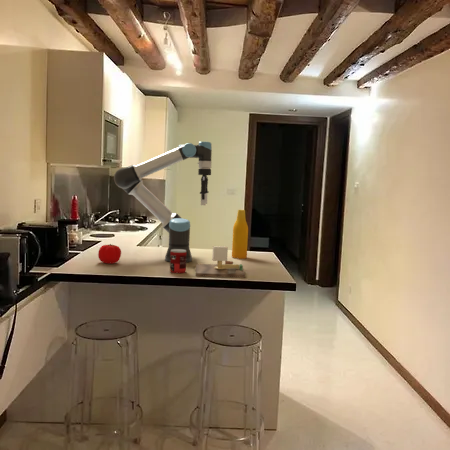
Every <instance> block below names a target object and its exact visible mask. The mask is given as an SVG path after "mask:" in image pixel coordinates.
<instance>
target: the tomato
mask: <svg viewBox="0 0 450 450" xmlns="http://www.w3.org/2000/svg"><path fill="white" fill-rule="evenodd" d="M97 256H98V260H99V261H100V262H101V263H103V264H111V265H112V264H116V263H118V262H119V260H120V258H121V256H122V250H121V248H120V247H119V246H117V245H114V244H111V243H110V244H103V245H101V247H100V248H99V249H98V253H97Z"/></svg>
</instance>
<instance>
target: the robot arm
mask: <svg viewBox="0 0 450 450" xmlns="http://www.w3.org/2000/svg"><path fill="white" fill-rule="evenodd" d="M212 152H213V151H212V142H210V141H198V144H193V143H192V142H187V143H185V144H178V146H177V147H176V148H173V149H171V150H169V151H166V152H165V153H162V154H160V155H158V156H155V157H153V158H150V159H148V160H145V161H144V162H141V163H138V164H136V165H135V164H131V165H130V166H126V167H121V168H119V169H117V170H116V171H115V173H114V176H113V180H114V183H115V185H116V186H117V187H118V188H120V189H122V190H123V191H124V192H125V193H126V194H127V195H130V196H133V197H134V198H135V199H136V200H138V202H140V204H141V205H143V206H144V207H145V208H146V209H147V210H148V211H149V212H150V213H151V214H152V215H153V216H154V217H155V218H156V219H157V220H158V221H159V222H161V224H162V228H163V229H164V230H165V231H166V232H167V233H168V247H167V251H166V253H165V257H164V258H165V259H164V261H166V262H169V263H170V253H171V250H172V249H183V250H186V252H187V253H186V263H190V262H192V261H193V255H192V253H191V249H190V238H191V237H190V233H191V222H190V220H189V219H186V218H182V217H181V215H179V213H177V212H172V211H171V210H170V209H169V208H168V207H167V206H166V205H165V204H164V203H163V202H162V201H161V200H160V199H159V198H158V197H157V196H156V195H155V194H153V192H152V191H150V190H149V189H148V188H147V187H146V186H145V185H144V183H143V182H144V181H143V178H145V177H148V176H150V175H153V174H154V173H157V172H159V171H162V170H164V169H166V168H169V167H171V166H173V165H175V164H177V163H180V162H182V161H185V160H187V159H195V158H196V159H198V162H197V163H196V164H197V165H198V169H197V171H198V172H197V175H198V176H201V178H200V181H201V182H200V185H201V187H200V192H199V194H200V206H206V205H208V194H209V191H208V184H209V177H208V176H211V175H212V169H211V168H212V154H213V153H212Z"/></svg>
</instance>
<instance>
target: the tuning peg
mask: <svg viewBox="0 0 450 450" xmlns="http://www.w3.org/2000/svg"><path fill="white" fill-rule="evenodd" d="M228 251H229V250H228V246H226V245H225V246H224V245H223V246H222V245H221V246H219V245H218V246H216V245H214V246H212V261H214V262H217V263H216V264H217V266H216V267H214V268H215V269H228V268H236V269H239V265H240V264H234V263H233V264H225V263H224V264H223V262H225V261H228V253H229V252H228Z"/></svg>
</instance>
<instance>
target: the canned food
mask: <svg viewBox="0 0 450 450" xmlns="http://www.w3.org/2000/svg"><path fill="white" fill-rule="evenodd" d="M186 253H187V252H186V250H183V249H172V250H171V253H170V262H169V271H170V273H172V274H184V273H186V271H187V262H186Z"/></svg>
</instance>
